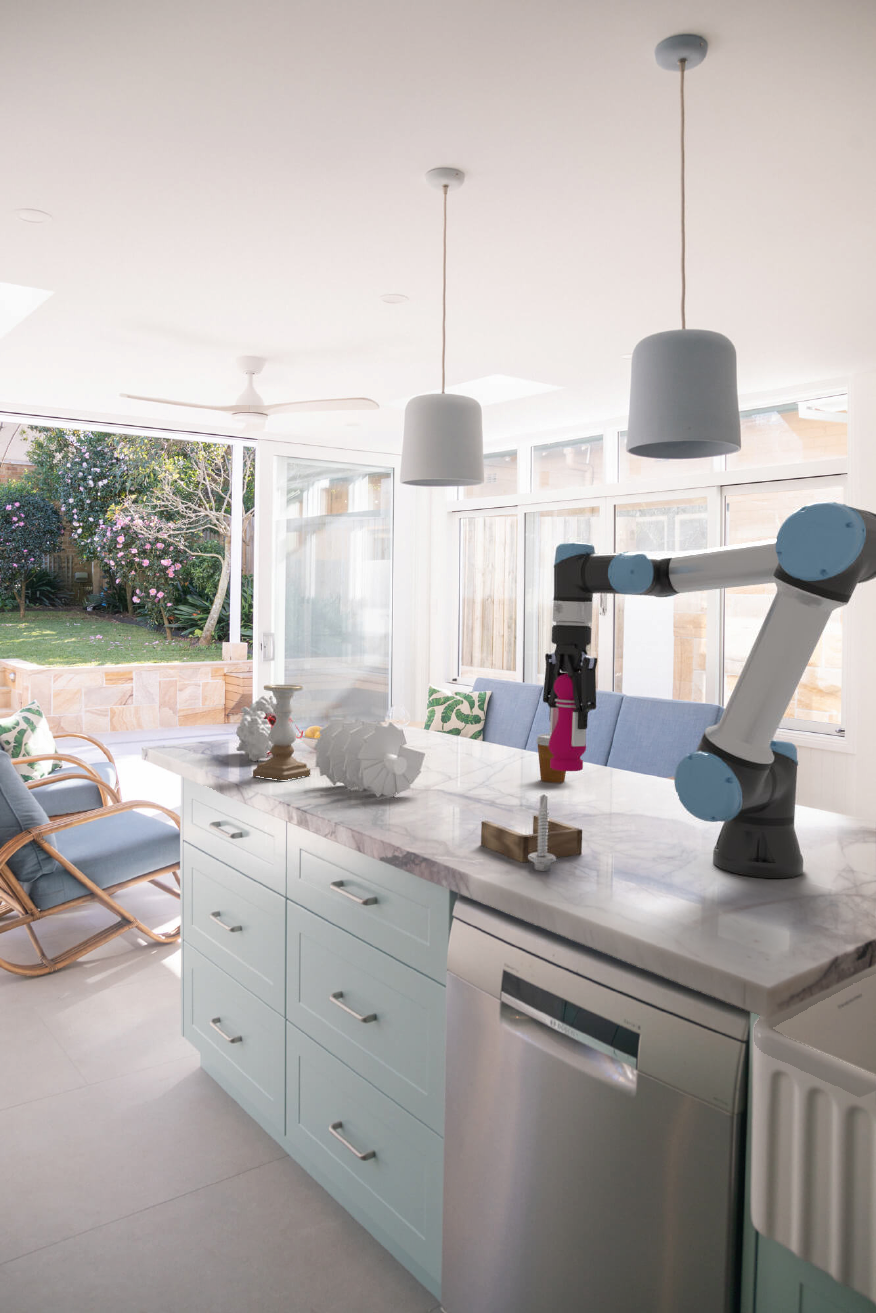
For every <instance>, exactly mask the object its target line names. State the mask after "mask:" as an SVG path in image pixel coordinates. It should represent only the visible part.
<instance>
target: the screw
mask: <svg viewBox="0 0 876 1313" xmlns="http://www.w3.org/2000/svg"><path fill="white" fill-rule="evenodd" d="M548 798H549V797H548V796H547V795H546V794H542V795H540V796H539V810H538V814H537V815H539V818H538V819H539V821H538V822H539V824H538V825H539V826H538V831H537V832H538V838H537V839H538V841H537V842H538V845H537V846H538V848H537V849H538V851H537V852H534V853H531V854H530V855H528V859H529V860H531V861H530V862H532V863H533V869H535V871H537V872H538V871H540V872H546V871H550V865H551V863H554V862H556V860H557V858H556V857H555V856H554V855H553V854H550V853H547V851H548V850H547V848H548V847H547V845H548V843H547V841H548V840H547V838H548V836H547V835H548V833H547V831H548V829H547V828H548V826H547V825H548V823H547V821H549V820H548V818H549V812H548V811H549V809H548V800H549V799H548Z"/></svg>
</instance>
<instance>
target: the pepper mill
mask: <svg viewBox="0 0 876 1313" xmlns="http://www.w3.org/2000/svg"><path fill="white" fill-rule="evenodd" d="M566 673H567V674H564V675H561V676H559V677H558V678H557V679H556V681H555V683H554V691H555V693H556V694H557V696H558V698H557V699H556V701H557V702H556V706H558V720H557V724H556V726H555V729H554V731H553V733H552V735H551V737H550V740H549V746H548V747H549V750H550V752H551V753H552V754H553V756H554V757H553V758H551V760H550V767H551V768H552V769H554V770H559V771H566V772H580V771H582V770H583V769H584V761H583V759H581V757H582V756H583V755H584V754H585V753H586V750H587V743H586V744H585V746H572V722H573V710H574V709H576V707H575V701H574V695H573V683H572V680H571V678H570V677H569V676H568V672H566Z"/></svg>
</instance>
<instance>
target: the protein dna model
mask: <svg viewBox="0 0 876 1313" xmlns="http://www.w3.org/2000/svg"><path fill="white" fill-rule="evenodd" d="M275 706H276V699H275V697H274V696H273V695H270V696H269V698H268V697H267V696H265V695H262V696H261V697H260V698H259V699H258V700H256V701H255V702H254V703H250V705H249V708H248V706H244V707H241V708H240V711H241V713H243V714H242V716H241V720H240V723H239V725H238V726H237V728H236V732H235V734H236V736H237V737H238V740H239V741H240V742H239V743H238V746H237V747H236V749H235V750H236V751H237V752H244V753H245V755H249V756H248V759H249V760H251V761H252V762H254V761H256V762H258V761H259V760H261V759H262V757H263V758H267V757H268V755H270V754H271V748H272V747H273V745H274V744H272V743H271V742H270V741H269V738H268V736H269V732H270V731H271V729H272V727H273V726H274V724H275V722H276V715H275V712H273V709H274V708H275ZM289 721H290V723H291V722H292V723H294V721H293V719H291V716H290V717H289ZM292 723H291V724H292ZM294 726H295V728H296V729H297V730H298V732H299V734H301V735H300V736H299V737H298V735H297V734H296V736H297V737H296V739H298V740H299V739H301V738H302V737H303V734H304V730H302V731H300V730H299V728H298V726H297V725H296V724H294ZM267 754H268V755H267ZM257 760H258V761H257Z"/></svg>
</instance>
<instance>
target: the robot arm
mask: <svg viewBox="0 0 876 1313" xmlns="http://www.w3.org/2000/svg"><path fill="white" fill-rule="evenodd" d="M595 548H596V547H595V545H593V544H592V543H586V542H584V543H583V542H564V543H560V544H558V545H557V547H556V549H555V555H554V563H553V599H552V602H553V603H552V604H553V605H552V622H555V624H552V625H553V626H551V643H552V644H553V645H555V648H554V652H552V653H546V652H545V655H544V658H545V673H544V681H543V682H544V684H543V693H542V694H543V695H542V702H543V703H544V704H545V703H546V704H547V706H548V707H549V734H550V737H551V735H552V733H553V731H554V729H555V726H556V724H557V720H558V706H556V702H557V701H556V699H557V698H558V696H557V694H556V693H555V691H554V683H555V681H556V679H557V678H558V677H559V676H561V675H564V674H567V673H566V672H568V676H569V677H570V678H571V680H572V683H573V695H574V701H575V707H576V709H574V710H573V722H572V746H585V744H586V745H587V742H586V740H587V739H586V738H587V729H588V720H589V719H588V717H589V712H590V711H592V710H596V709H597V680H596V678H597V677H596V671H597V670H596V669H597V665H598V664H597V663H598V658H597V657H596V656H590V655H588V651H587V646H589V645H591V644H592V627H591V626H590V625H589V624H591V623H592V622H593V598H594V597H593V596H594V594H596V595H597V594H610V595H613V594H614V595H625V596H626V595H628V596H629V595H630V596H631V595H632V596H649V597H656V598H667V597H668V598H669V597H673V596H676V595H678V594H685V593H693V592H694V593H696V592H701V591H702V592H704V591H711V590H720V589H729V588H730V589H731V588H740V587H748V586H757V585H766V584H767V585H768V584H775V586H776V593H775V595H774V597H773V600H772V602H771V605H770V607H769V609H768V612H767V613H766V615H765V618H764V620H763V622H762V624H761V627H760V630H759V632H758V634H757V636H756V638H755V641H754V643H753V645H752V646H751V650H750V652H749V654H748V656H747V659H746V661H745V664H744V665H743V668H742V670H741V672H740V674H739V677H738V679H737V681H736V684H735V685H734V688H733V690H732V692H731V694H730V696H729V699H728V701H727V704H726V706H725V708H724V710H723V713H722V716H720V720H719V722H718V723H717V724H714V725H711V726H708V727H706V729H705V731H704V732H703V733H702V734H703V735H702V736H701V739H700V741H699V744H698V746H697V748H696V750H695V751H693V752H690V753H688V754H686V755H685V756H684V757H682V759H681V760H680V761H679V762H678V764H677V766H676V769H675V772H674V778H673V779H674V780H673V781H674V789H675V792H676V793H677V796H678V800H679V802H680V803H681V805H682V806H683V808H684V809H685V810H686V811H687V812H688V813H689V814H691V815H692V816H693V817H695V818H697V819H699V820H701V821H704V822H709V823H710V822H711V823H718V822H721V823H722V822H723V825H722V826H721V829H720V832H719V834H718V838H717V840H716V844H715V845H714V847H713V850H712V852H713V853H712V862H713V863H712V864H713V865H715V866H716V867H718V868H720V869H722V870H725V871H727V872H730V873H732V874H733V873H734V874H739V875H742V876H747V877H755V878H765V879H786V878H787V879H788V878H789V879H790V878H794V877H798V876H800V875H802V874H803V873H804V857H803V855H802V853H801V852H802V851H801V848H800V844H799V839H798V836H797V833H796V829H795V828H796V827H795V815H796V798H797V796H796V794H797V778H798V777H797V776H798V766H799V760H798V749H797V746H796V745H795V744H794V743H792V742H790V741H783V740H774V737H775V735H776V733H777V730H778V729H779V726H780V724H781V722H782V720H783V718H784V716H785V714H786V711H787V709H788V708H789V704H790V703H791V701H792V698H793V697H794V694H795V692H796V690H797V688H798V685H799V683H800V682H801V679H802V677H803V675H804V673H805V670H806V669H807V666H808V664H809V662H810V660H811V657H812V656H813V653H814V651H815V649H816V647H817V645H818V643H819V640H820V638H821V637H822V634H823V633H824V630H825V627H826V626H827V624H828V621H829V619H830V617H831V615H832V613H833V611H835V610H836V609H839V608H842V607H844V606H847V605H848V603H849V602H850V600H851V597H852V596H853V593H854V591H855V589H856V587H857V585H858V584H862V583H866V582H869V581H871V580H873V579H876V513H874V512H872V511H869V510H865V509H864V510H863V509H860V508H856V507H853V506H848V505H847V504H844V503H839V502H834V501H832V502H830V501H829V502H825V501H824V502H823V501H822V502H820V501H819V502H813V503H809V504H807V505H804V506H802V507H800V508H798V509H796V510H795V511H794V512H792V513H791V514H790V515H789V516H788V517H787V518H786V519H785V521H783V523H782V524H781V526H780V528H779V530H778V532H777V535H776V538H775V539H774V538H772V539H767V540H761V541H755V542H747V543H742V544H741V543H740V544H733V545H728V546H726V545H725V546H721V547H713V548H707V549H701V550H695V551H687V552H681V553H676V554H669V555H662V556H650V555H649V556H648V555H646V553H645V554H644V553H642V552H635V551H632V552H631V551H622V552H610V553H608V552H607V553H596V552H595ZM550 737H549V740H550Z"/></svg>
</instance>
